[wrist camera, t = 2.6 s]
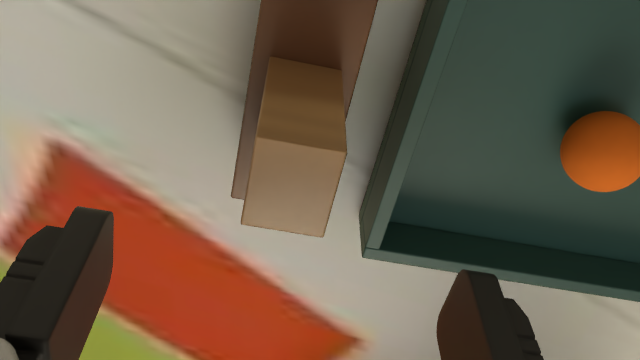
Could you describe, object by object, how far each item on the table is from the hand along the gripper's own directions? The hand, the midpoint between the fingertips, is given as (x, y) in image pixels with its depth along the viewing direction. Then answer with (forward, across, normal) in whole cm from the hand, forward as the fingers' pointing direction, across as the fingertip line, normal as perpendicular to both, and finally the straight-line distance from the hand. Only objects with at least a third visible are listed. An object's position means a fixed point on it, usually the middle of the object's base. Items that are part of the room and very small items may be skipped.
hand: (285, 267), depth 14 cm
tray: (+11, -13, 0) cm, 17 cm away
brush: (+11, 0, 0) cm, 11 cm away
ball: (+9, -12, 0) cm, 14 cm away
